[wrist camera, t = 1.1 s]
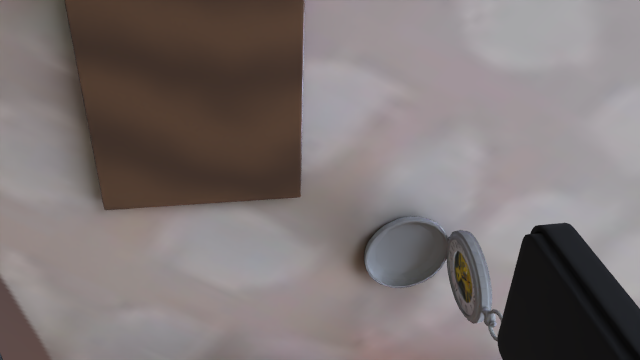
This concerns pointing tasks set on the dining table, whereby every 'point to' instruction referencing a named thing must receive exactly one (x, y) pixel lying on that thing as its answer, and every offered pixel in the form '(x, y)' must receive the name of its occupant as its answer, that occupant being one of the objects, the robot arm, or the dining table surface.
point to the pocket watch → (433, 263)
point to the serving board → (192, 98)
